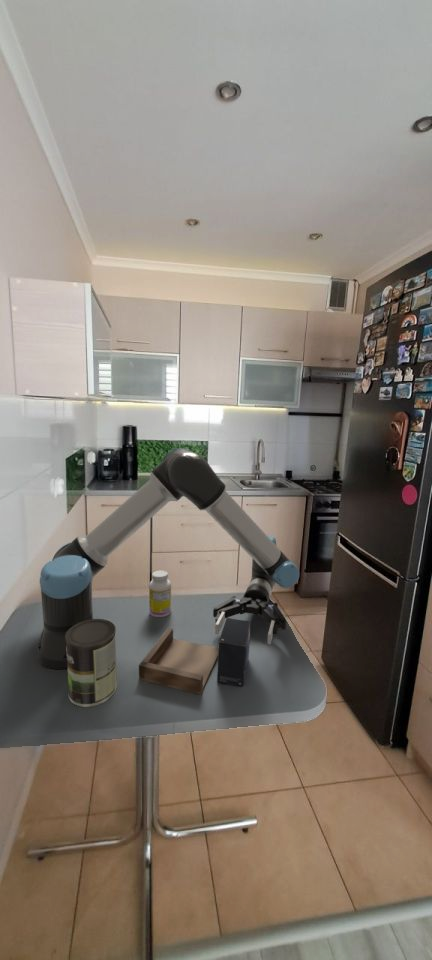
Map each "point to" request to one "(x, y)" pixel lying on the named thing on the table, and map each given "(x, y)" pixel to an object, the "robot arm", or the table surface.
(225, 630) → the small box
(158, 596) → the supplement bottle
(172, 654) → the corner tray
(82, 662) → the coffee can
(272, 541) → the robot arm
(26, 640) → the table surface
